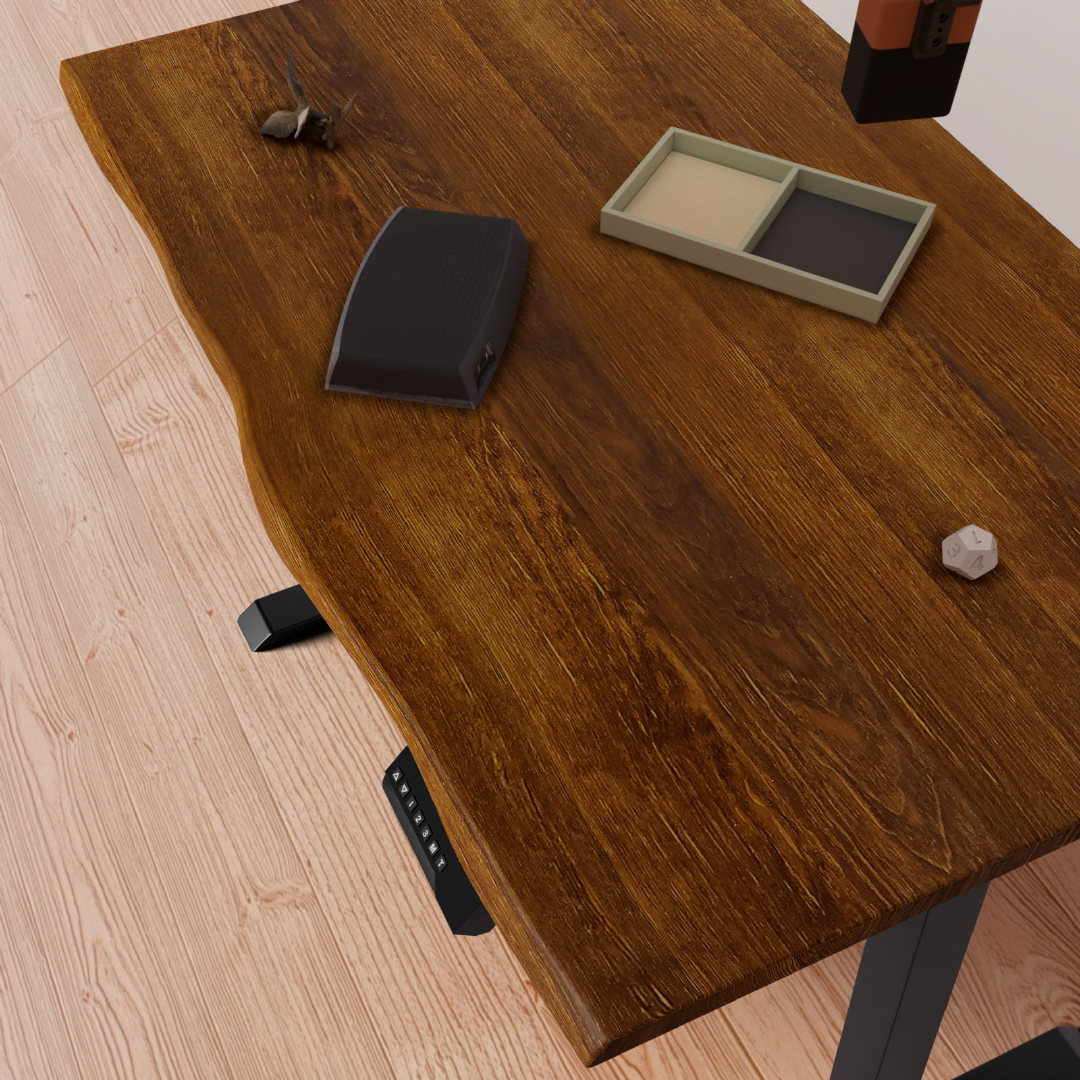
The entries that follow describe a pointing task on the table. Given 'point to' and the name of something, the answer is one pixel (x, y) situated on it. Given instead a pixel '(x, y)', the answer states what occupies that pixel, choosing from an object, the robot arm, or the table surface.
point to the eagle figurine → (305, 114)
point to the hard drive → (430, 308)
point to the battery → (902, 64)
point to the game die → (970, 552)
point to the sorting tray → (770, 222)
